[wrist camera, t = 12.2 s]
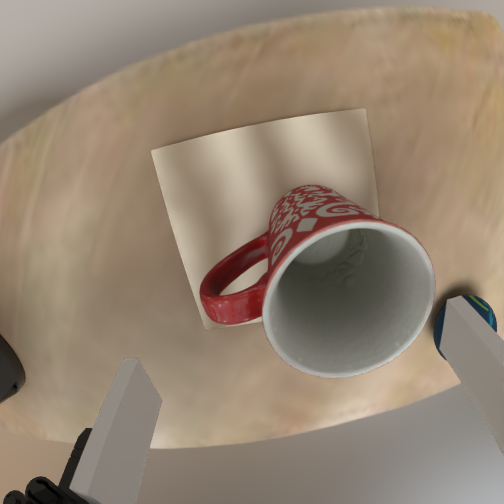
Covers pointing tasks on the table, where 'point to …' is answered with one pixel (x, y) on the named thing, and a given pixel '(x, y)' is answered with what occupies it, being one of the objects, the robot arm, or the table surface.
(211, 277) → the mug
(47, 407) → the table surface
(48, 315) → the table surface
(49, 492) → the robot arm
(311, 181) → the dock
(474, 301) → the christmas ornament
